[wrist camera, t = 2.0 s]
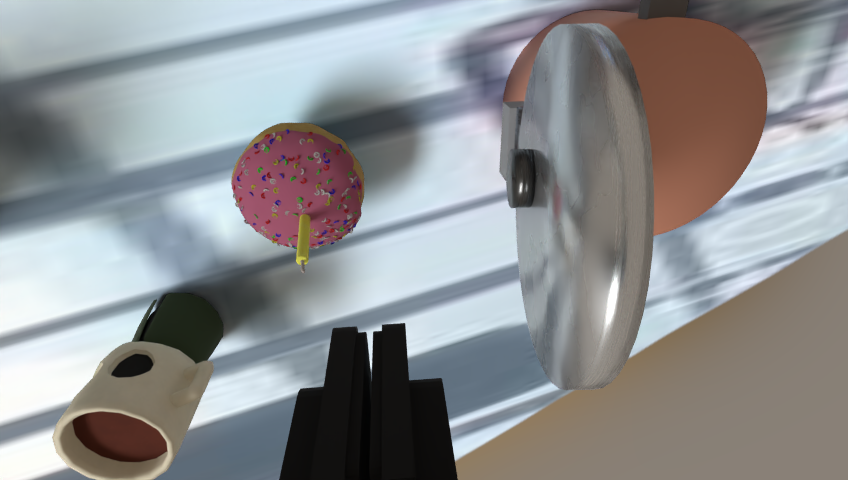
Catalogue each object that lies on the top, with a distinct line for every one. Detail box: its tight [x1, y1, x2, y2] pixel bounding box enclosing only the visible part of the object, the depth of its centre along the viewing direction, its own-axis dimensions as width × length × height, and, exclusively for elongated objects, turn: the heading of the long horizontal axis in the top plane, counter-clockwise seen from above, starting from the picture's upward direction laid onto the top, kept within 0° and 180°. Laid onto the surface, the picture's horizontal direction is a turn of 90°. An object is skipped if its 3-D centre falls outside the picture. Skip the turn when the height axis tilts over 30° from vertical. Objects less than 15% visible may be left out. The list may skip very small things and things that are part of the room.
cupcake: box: [232, 123, 364, 273], centre depth 30 cm, size 9×8×12 cm
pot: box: [500, 0, 767, 236], centre depth 30 cm, size 18×14×10 cm
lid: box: [506, 23, 654, 390], centre depth 19 cm, size 13×15×2 cm
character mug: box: [52, 293, 223, 480], centre depth 35 cm, size 11×7×13 cm, turn 114°
